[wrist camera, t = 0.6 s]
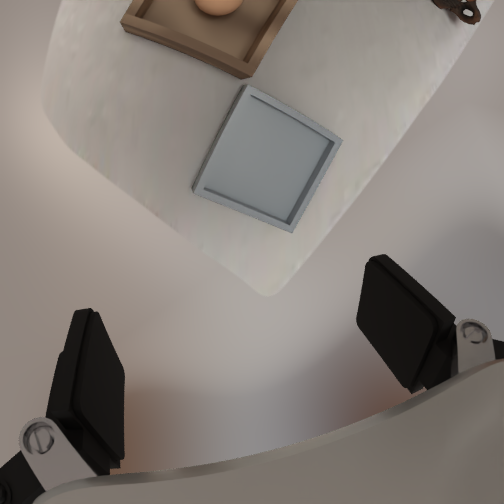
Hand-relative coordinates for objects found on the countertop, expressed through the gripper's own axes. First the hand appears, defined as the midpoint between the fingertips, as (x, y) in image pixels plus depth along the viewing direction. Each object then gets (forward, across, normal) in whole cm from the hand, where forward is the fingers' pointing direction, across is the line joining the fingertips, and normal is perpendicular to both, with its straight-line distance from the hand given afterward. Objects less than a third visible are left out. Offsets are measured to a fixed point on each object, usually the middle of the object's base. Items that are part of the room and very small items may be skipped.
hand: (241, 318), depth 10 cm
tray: (+27, -9, +1) cm, 28 cm away
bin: (+27, -4, -18) cm, 33 cm away
